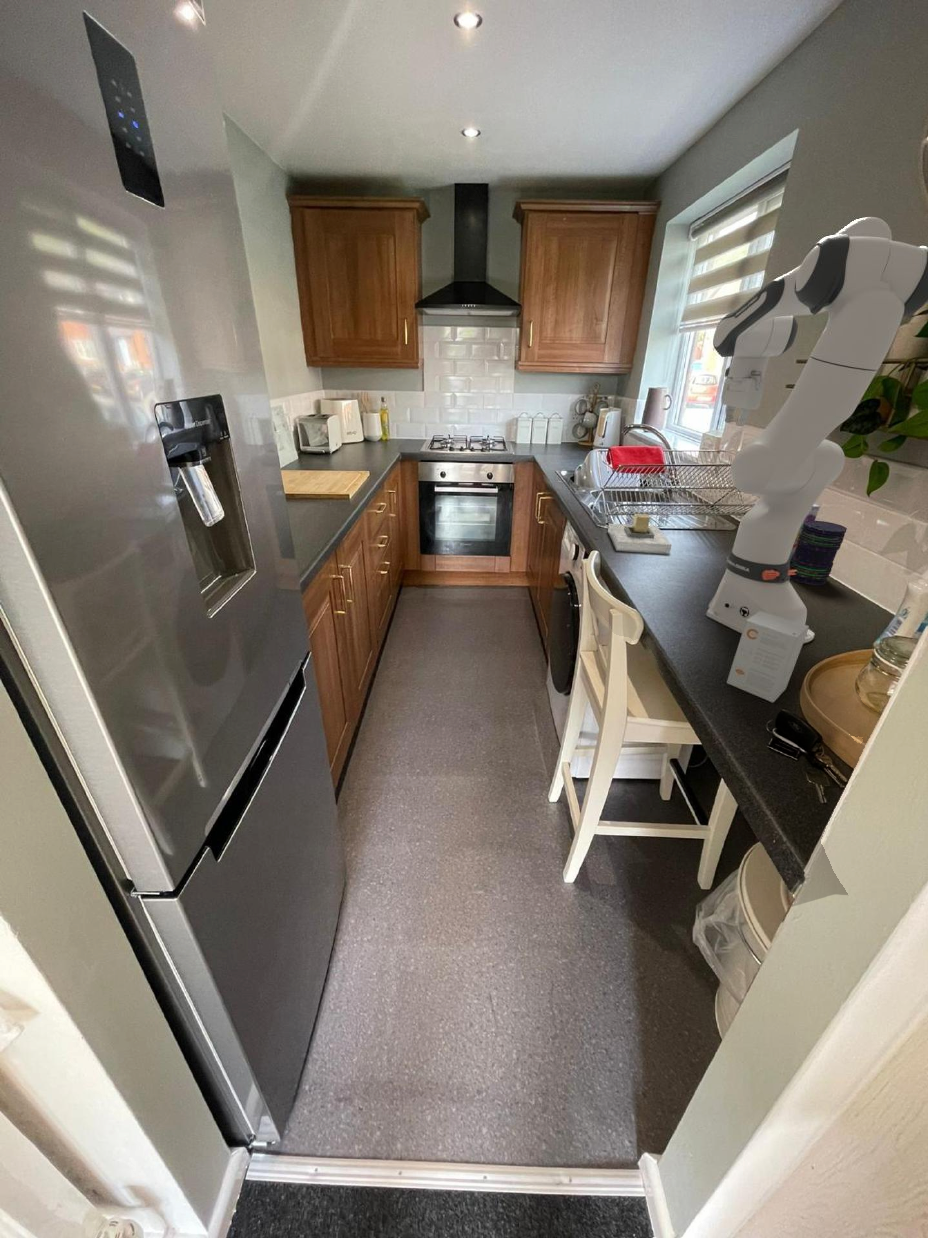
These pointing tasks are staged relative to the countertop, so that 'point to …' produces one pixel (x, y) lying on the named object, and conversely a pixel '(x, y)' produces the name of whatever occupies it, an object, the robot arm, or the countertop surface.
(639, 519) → the yellow tall rectangular block
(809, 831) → the countertop surface
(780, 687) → the small box
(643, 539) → the grey socket base
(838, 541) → the storage jar
